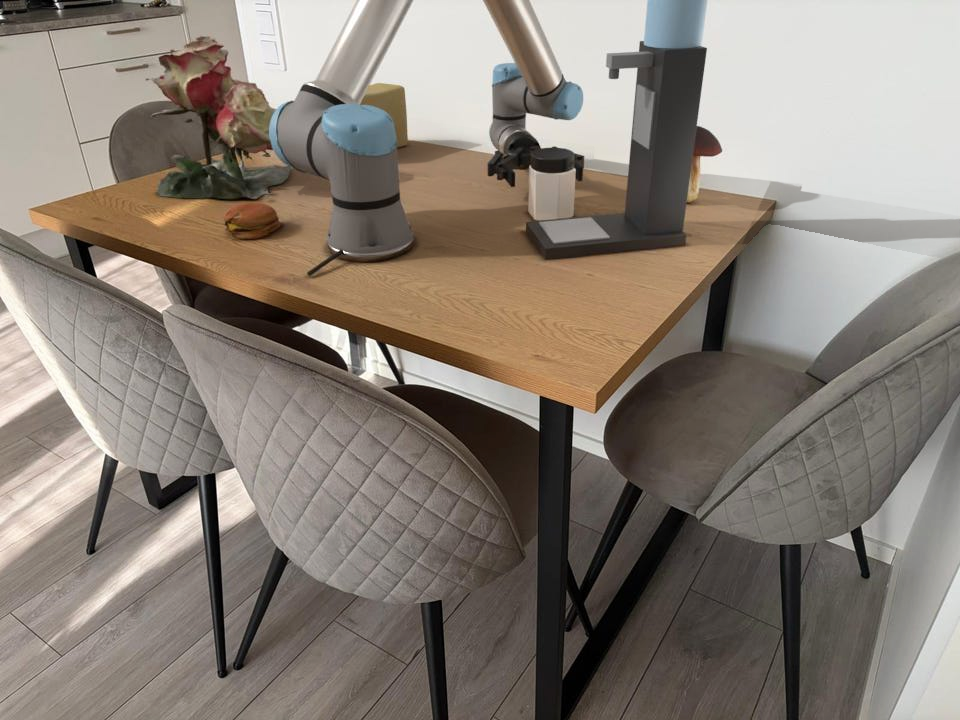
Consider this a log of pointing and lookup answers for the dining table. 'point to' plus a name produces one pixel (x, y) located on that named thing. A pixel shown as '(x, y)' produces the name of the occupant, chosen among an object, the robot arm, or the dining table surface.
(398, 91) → the cheese
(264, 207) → the burger
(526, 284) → the dining table surface
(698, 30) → the water dispenser
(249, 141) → the rose bouquet
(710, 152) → the decorative mushroom
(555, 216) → the jar
